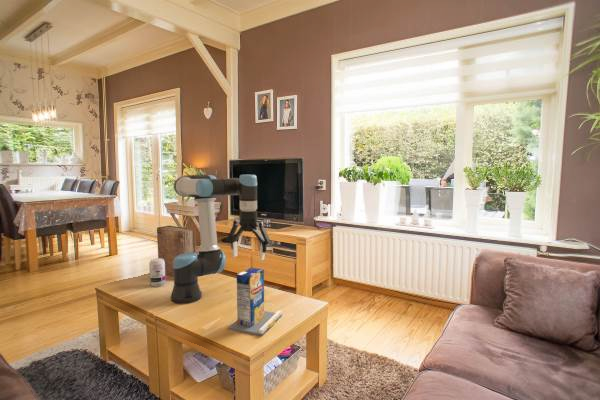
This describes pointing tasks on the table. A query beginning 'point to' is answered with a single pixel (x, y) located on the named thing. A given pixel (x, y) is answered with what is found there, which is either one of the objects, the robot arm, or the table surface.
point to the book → (174, 244)
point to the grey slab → (258, 324)
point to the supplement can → (157, 272)
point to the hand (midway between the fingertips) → (248, 258)
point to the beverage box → (250, 297)
